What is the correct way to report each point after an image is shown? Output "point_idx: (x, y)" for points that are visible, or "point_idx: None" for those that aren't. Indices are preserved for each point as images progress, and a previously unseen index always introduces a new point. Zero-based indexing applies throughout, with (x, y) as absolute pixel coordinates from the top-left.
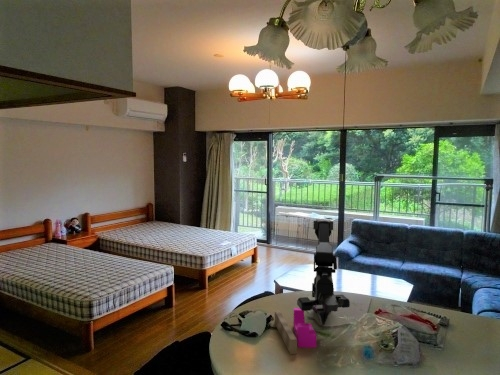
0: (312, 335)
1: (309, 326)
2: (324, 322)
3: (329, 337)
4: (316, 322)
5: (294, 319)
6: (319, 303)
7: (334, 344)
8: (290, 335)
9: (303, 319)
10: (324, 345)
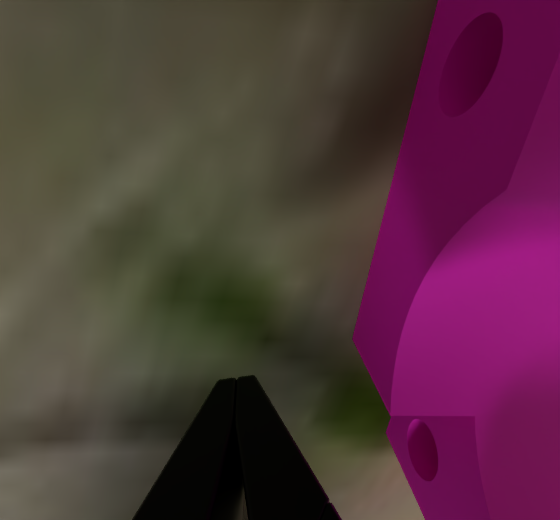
0: None
1: (427, 367)
2: (219, 408)
3: (177, 226)
4: None
5: None
6: None
7: (146, 29)
8: None
9: (493, 481)
10: (307, 20)
